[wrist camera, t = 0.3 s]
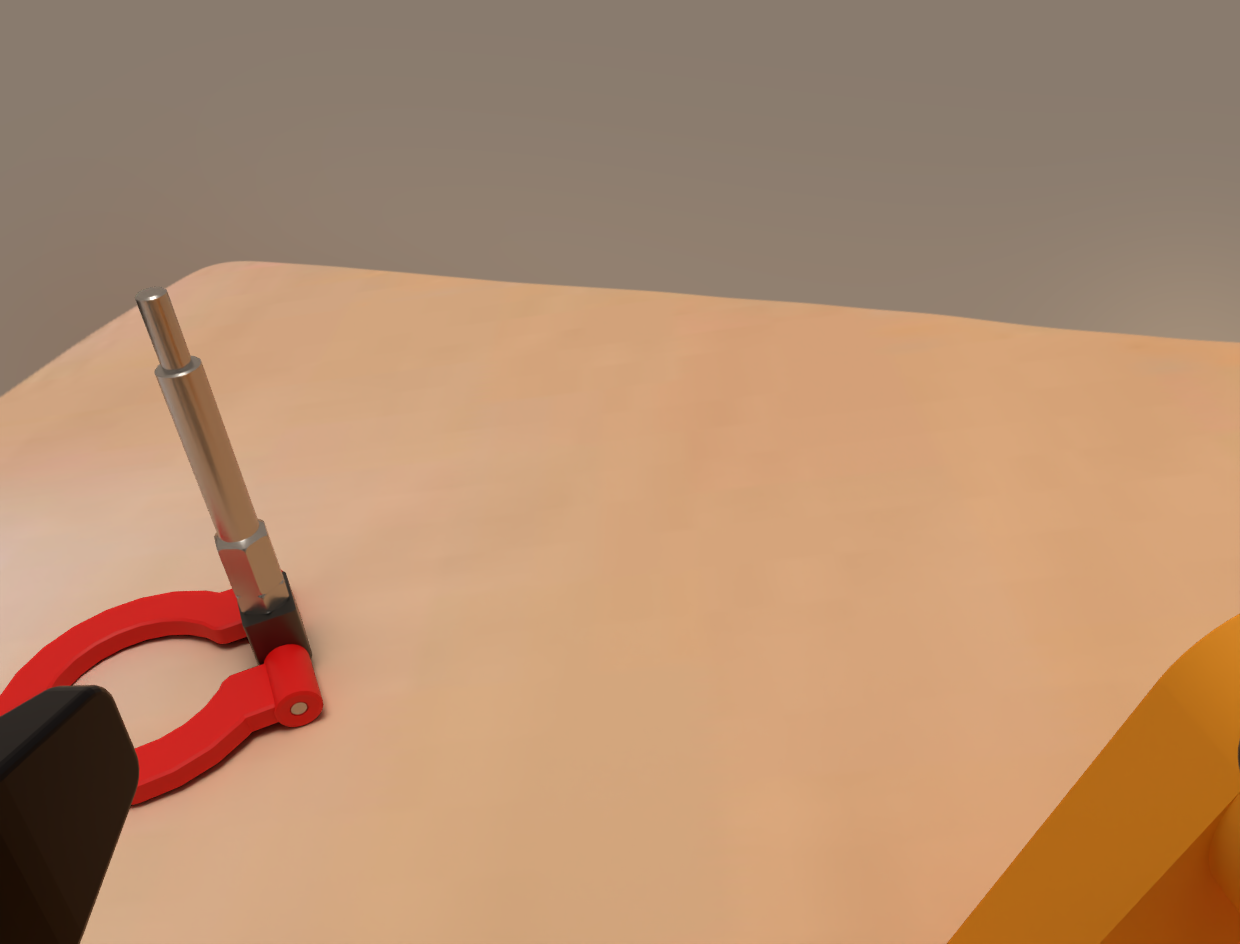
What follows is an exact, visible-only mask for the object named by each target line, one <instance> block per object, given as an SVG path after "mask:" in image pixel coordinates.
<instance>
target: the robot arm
mask: <svg viewBox="0 0 1240 944" xmlns="http://www.w3.org/2000/svg"><path fill="white" fill-rule="evenodd" d="M1238 766H1239V770H1240V740H1239V745H1238ZM138 781H139V761H138V757H137V754H136V751H135V749H134V746H133V744H132V742H131V739H130V737H129V734H128V732H127V730H126V727H125V725H124V722H123V720H122V718H121V715H120V713H119V710H118V708H117V706H116V703H115V701H114V699H113V697H112V695H111V694H110V693H109V692H108V691H107V690H106V689H104V688H103V687H100V686H96V685H76V686H56V687H52V688H49V689H47V690H45V691H43V692H41V693H39V694H38V695H36V696H34V697H33V698H31V699H29V700H27V701H26V702H24V703H22V704H21V705H19V706H17V707H15V708H14V709H12V710H10V711H9V712H7V713H5V714H3V715H2V716H0V944H80V941H81V939H82V936H83V934H84V931H85V928H86V926H87V923H88V920H89V918H90V915H91V912H92V909H93V907H94V904H95V901H96V899H97V896H98V893H99V890H100V888H101V885H102V882H103V880H104V877H105V874H106V871H107V869H108V866H109V863H110V861H111V858H112V855H113V852H114V850H115V847H116V844H117V842H118V839H119V836H120V833H121V831H122V828H123V825H124V823H125V820H126V817H127V814H128V812H129V809H130V806H131V804H132V801H133V798H134V795H135V793H136V790H137V786H138Z"/></svg>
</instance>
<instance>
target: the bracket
mask: <svg viewBox="0 0 1240 944" xmlns="http://www.w3.org/2000/svg"><path fill="white" fill-rule="evenodd" d="M1239 740H1240V614H1238V615H1237V616H1235V617H1233V618H1231V619H1230V620H1228V621H1226V622H1225V623H1223V624H1222V625H1220V626H1219V627H1217V628H1216V629H1214V630H1213V631H1211V632H1210V633H1209V634H1207V635H1206V636H1205V637H1203V638H1202V639H1201V640H1199V641H1198V642H1197V643H1196V644H1194V645H1193V646H1192V647H1191V648H1190V649H1189V650H1187V651H1186V652H1185V653H1184V654H1183V655H1182V656H1181V657H1180V658H1179V659H1178V660H1177V661H1176V662H1175V663H1174V664H1173V665H1172V666H1171V667H1170V668H1169V669H1168V670H1167V671H1166V672H1165V673H1164V674H1163V675H1162V677H1161V678H1160V679H1159V680H1158V681H1157V683H1156V684H1155V685H1154V686H1153V688H1152V689H1151V690H1150V691H1149V693H1148V694H1147V695H1146V696H1145V698H1144V699H1143V700H1142V701H1141V703H1140V704H1139V705H1138V706H1137V707H1136V709H1135V710H1134V711H1133V712H1132V714H1131V715H1130V716H1129V717H1128V719H1127V720H1126V721H1125V722H1124V724H1123V725H1122V726H1121V727H1120V729H1119V730H1118V731H1117V732H1116V734H1115V735H1114V736H1113V737H1112V739H1111V740H1110V741H1109V742H1108V744H1107V745H1106V746H1105V747H1104V749H1103V750H1102V751H1101V752H1100V754H1099V755H1098V756H1097V757H1096V759H1095V760H1094V761H1093V762H1092V764H1091V765H1090V766H1089V767H1088V768H1087V770H1086V771H1085V772H1084V773H1083V775H1082V776H1081V777H1080V778H1079V780H1078V781H1077V782H1076V783H1075V785H1074V786H1073V787H1072V788H1071V790H1070V791H1069V792H1068V793H1067V795H1066V796H1065V797H1064V798H1063V800H1062V801H1061V802H1060V803H1059V805H1058V806H1057V807H1056V808H1055V810H1054V811H1053V812H1052V813H1051V815H1050V816H1049V817H1048V818H1047V820H1046V821H1045V822H1044V823H1043V825H1042V826H1041V827H1040V828H1039V830H1038V831H1037V832H1036V833H1035V834H1034V836H1033V837H1032V838H1031V839H1030V841H1029V842H1028V843H1027V844H1026V846H1025V847H1024V848H1023V849H1022V851H1021V852H1020V853H1019V854H1018V856H1017V857H1016V858H1015V859H1014V861H1013V862H1012V863H1011V864H1010V866H1009V867H1008V868H1007V869H1006V871H1005V872H1004V873H1003V874H1002V876H1001V877H1000V878H999V879H998V881H997V882H996V883H995V884H994V886H993V887H992V888H991V889H990V891H989V892H988V893H987V894H986V896H985V897H984V898H983V899H982V900H981V902H980V903H979V904H978V905H977V907H976V908H975V909H974V910H973V912H972V913H971V914H970V915H969V917H968V918H967V919H966V920H965V922H964V923H963V924H962V925H961V927H960V928H959V929H958V930H957V932H956V933H955V934H954V935H953V937H952V938H951V939H950V940H949V942H948V943H947V944H1240V770H1239V766H1238V745H1239Z"/></svg>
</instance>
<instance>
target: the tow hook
mask: <svg viewBox="0 0 1240 944" xmlns="http://www.w3.org/2000/svg"><path fill="white" fill-rule="evenodd" d="M135 300H136V302H137V305H138V308H139V310H140V313H141V315H142V318H143V321H144V323H145V326H146V328H147V331H148V334H149V336H150V339H151V341H152V344H153V347H154V349H155V352H156V354H157V357H158V360H159V362H160V365H158V367H157V368H156V370H155V375H156V378H157V380H158V383H159V386H160V388H161V391H162V393H163V396H164V398H165V401H166V404H167V406H168V409H169V411H170V414H171V416H172V419H173V421H174V424H175V427H176V429H177V432H178V434H179V437H180V439H181V442H182V445H183V447H184V450H185V452H186V455H187V457H188V460H189V462H190V465H191V468H192V470H193V473H194V475H195V478H196V480H197V483H198V486H199V488H200V491H201V493H202V496H203V498H204V501H205V503H206V506H207V509H208V511H209V514H210V516H211V519H212V521H213V524H214V527H215V529H216V532H217V533H216V534H215V536H214V538H215V543H216V547H217V550H218V553H219V556H220V558H221V561H222V564H223V566H224V569H225V571H226V574H227V576H228V579H229V581H230V584H231V586H232V589H230V590H227V591H224V592H221V593H217V592H212V591H178V592H170V593H164V594H159V595H154V596H149V597H144V598H140V599H137V600H134V601H131V602H128V603H125V604H122V605H120V606H117V607H114V608H111V609H108V610H106V611H104V612H102V613H100V614H98V615H96V616H94V617H92V618H90V619H88V620H86V621H84V622H82V623H80V624H78V625H76V626H74V627H72V628H71V629H70V630H68V631H67V632H65V633H64V634H62V635H61V636H59V637H58V638H57V639H55V640H54V641H52V642H51V643H49V644H48V645H46V646H45V647H44V648H42V649H41V650H40V651H39V652H38V653H37V654H36V655H35V656H34V657H33V658H32V659H31V660H30V661H29V662H28V663H27V664H26V665H24V666H23V667H22V668H21V669H20V670H19V671H18V672H17V673H16V674H15V676H14V677H13V679H12V680H11V681H10V683H9V684H8V686H7V687H6V688H5V690H4V691H3V692H2V694H1V695H0V716H2V715H3V714H5V713H7V712H9V711H10V710H12V709H14V708H15V707H17V706H19V705H21V704H22V703H24V702H26V701H27V700H29V699H31V698H33V697H34V696H36V695H38V694H39V693H41V692H43V691H45V690H47V689H49V688H52V687H56V686H71V685H72V684H73V683H74V682H75V681H76V680H77V679H78V678H79V677H80V676H81V675H82V674H83V673H84V672H86V671H87V670H88V669H90V668H91V667H92V666H94V665H95V664H97V663H98V662H99V661H101V660H102V659H104V658H106V657H108V656H110V655H112V654H114V653H115V652H117V651H119V650H121V649H123V648H125V647H128V646H131V645H134V644H136V643H139V642H142V641H145V640H148V639H153V638H157V637H162V636H167V635H194V636H200V637H205V638H209V639H210V640H212V641H214V642H216V643H218V644H227V643H230V642H233V641H236V640H239V639H242V638H245V637H247V638H248V640H249V643H250V645H251V648H252V650H253V653H254V655H255V658H256V660H257V663H258V665H259V666H256V667H253V668H251V669H248V670H245V671H242V672H239V673H236V674H234V675H231V676H229V677H228V678H227V679H226V680H225V681H223V682H222V684H221V686H220V688H219V690H218V691H217V693H216V694H215V695H214V696H213V698H212V699H211V700H210V701H209V702H208V704H207V705H206V706H205V707H204V708H203V709H202V710H201V711H200V712H198V713H197V714H196V715H195V716H194V717H192V718H191V719H190V720H189V721H188V722H186V723H185V724H184V725H182V726H181V727H179V728H177V729H175V730H174V731H172V732H170V733H169V734H167V735H165V736H164V737H162V738H160V739H158V740H155V741H153V742H150V743H148V744H145V745H143V746H140V747H138V748H135V751H136V754H137V757H138V761H139V781H138V786H137V790H136V793H135V795H134V798H133V801H132V804H131V805H133V804H138V803H141V802H144V801H146V800H148V799H151V798H153V797H156V796H158V795H160V794H163V793H165V792H168V791H170V790H173V789H175V788H177V787H180V786H182V785H183V784H185V783H187V782H188V781H190V780H191V779H193V778H195V777H196V776H198V775H200V774H201V773H203V772H204V771H206V770H208V769H209V768H211V767H212V766H214V765H216V764H217V763H219V762H220V761H221V760H222V759H223V758H224V757H225V756H227V755H228V754H229V753H230V752H231V751H232V750H233V749H234V748H236V747H237V746H238V745H239V744H240V743H241V742H242V741H243V740H245V739H246V738H247V737H248V736H249V735H250V733H251V732H253V731H256V730H258V729H261V728H264V727H267V726H269V725H272V724H275V723H277V722H279V723H281V724H282V725H285V726H288V727H299V726H303V725H306V724H308V723H310V722H312V721H313V720H314V719H316V718H317V717H318V715H319V714H320V713H321V711H322V708H323V700H322V697H321V694H320V690H319V687H318V683H317V680H316V677H315V673H314V670H313V667H312V663H311V658H312V654H311V649H310V645H309V642H308V639H307V635H306V632H305V629H304V625H303V622H302V619H301V615H300V613H299V610H298V607H297V604H296V601H295V598H294V595H293V593H292V590H291V587H290V584H289V581H288V578H287V576H286V573H285V572H283V571H282V570H281V569H280V566H279V563H278V560H277V557H276V554H275V551H274V549H273V546H272V543H271V540H270V537H269V534H268V532H267V529H266V526H265V523H264V521H263V520H261V519H257V516H256V513H255V510H254V508H253V505H252V502H251V499H250V496H249V494H248V491H247V488H246V485H245V482H244V480H243V477H242V474H241V471H240V468H239V466H238V463H237V460H236V457H235V454H234V452H233V449H232V446H231V443H230V440H229V438H228V435H227V432H226V429H225V426H224V424H223V421H222V418H221V415H220V412H219V410H218V407H217V404H216V401H215V398H214V396H213V393H212V390H211V387H210V384H209V382H208V379H207V376H206V373H205V370H204V368H203V365H202V362H201V360H200V359H199V358H197V357H195V356H190V353H189V350H188V348H187V345H186V342H185V339H184V337H183V334H182V331H181V328H180V326H179V323H178V320H177V317H176V315H175V312H174V309H173V306H172V303H171V301H170V298H169V295H168V292H167V290H166V289H164V288H162V287H151V288H147V289H144V290H142V291H140V292H138V293H137V295H136V296H135Z"/></svg>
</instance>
